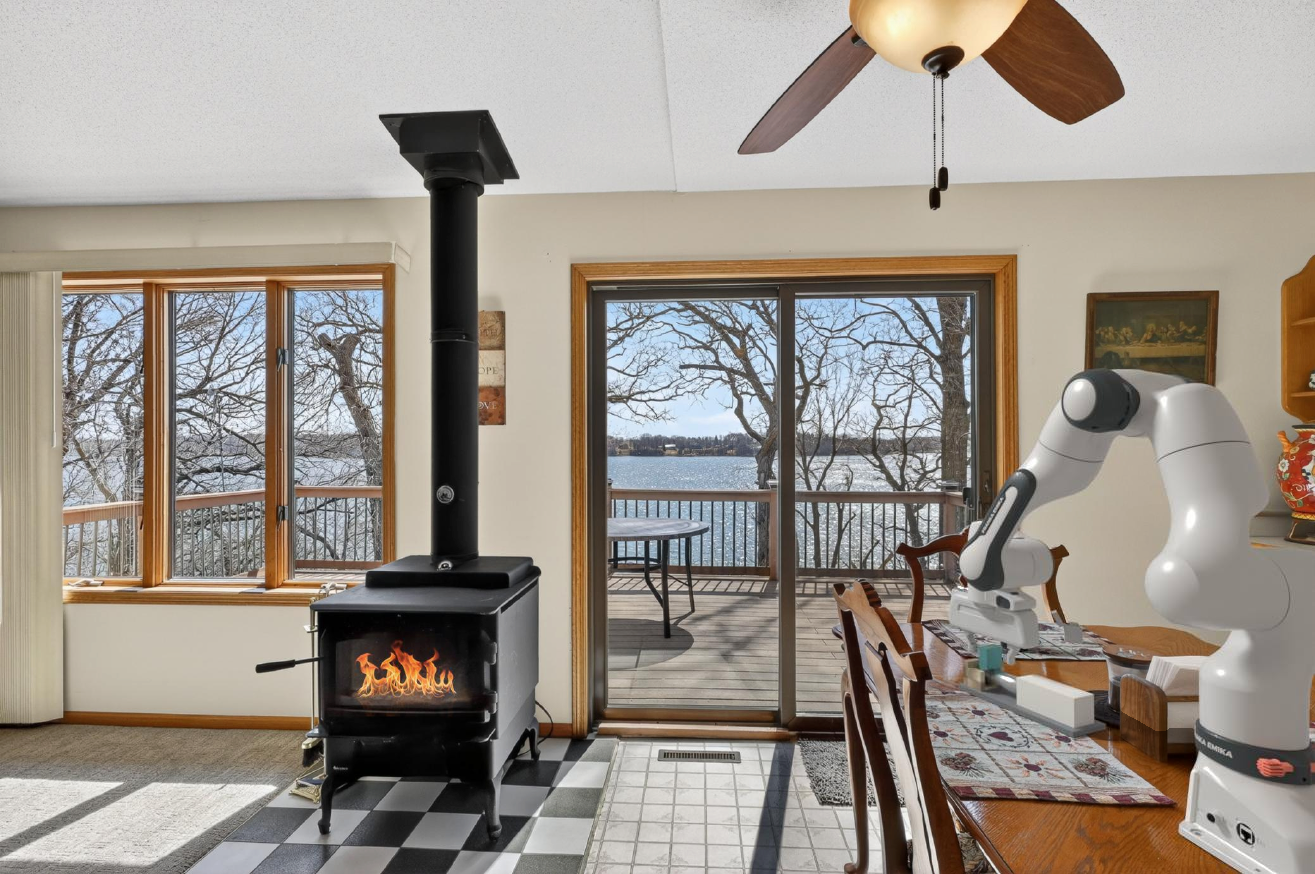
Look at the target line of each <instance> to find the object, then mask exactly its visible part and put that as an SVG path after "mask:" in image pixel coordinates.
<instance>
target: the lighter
mask: <svg viewBox="0 0 1315 874" xmlns="http://www.w3.org/2000/svg"><path fill="white" fill-rule="evenodd" d="M1050 613H1051V615H1052V617H1053V618H1054V620H1055V622H1056V624H1057V625H1058V628H1061V627H1063V641H1064V643H1065V642H1066V643H1073V644H1081V643H1082V644H1083V643H1084V642H1083V641H1084V640H1083V626H1082V625H1080V624H1079V623H1078V622H1076V621H1068V624H1065V623H1064V621H1063V620H1062V618H1061V617H1060V615H1059V613H1058V612H1057V610H1056V609H1054V610H1052V611H1050Z"/></svg>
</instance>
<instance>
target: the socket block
mask: <svg viewBox="0 0 1315 874" xmlns="http://www.w3.org/2000/svg"><path fill="white" fill-rule="evenodd" d="M962 662H963V663H962V664H963V665H962V667H963V668H962V669H963V670H962V672H963V673H962V675H963V677H962V678H963V682H962V683H963V684H964V685H967V686H969V687H971V688H974V689H976V690H979V691H985V690H990V689H995V688H999V687H997V686H994V685H991V684H989V683H986V682H985V672H984V671H982V670H979V669H977V667H978V666H979V657H975V658H968V659H963V660H962ZM997 670H1000V671H1003V672H1005V667H1003V666H1002V668H998V669H997Z"/></svg>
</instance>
